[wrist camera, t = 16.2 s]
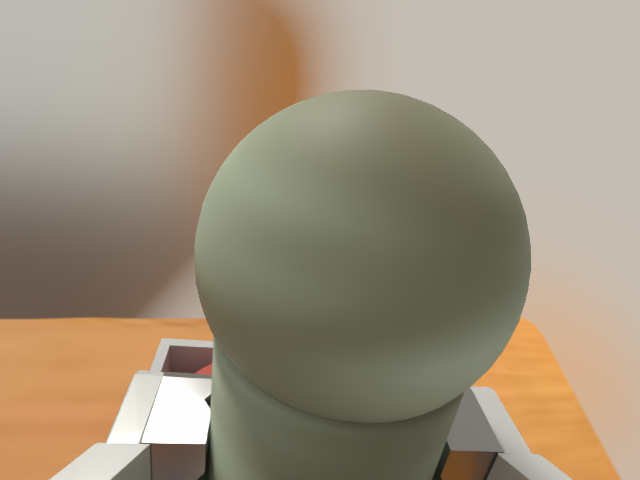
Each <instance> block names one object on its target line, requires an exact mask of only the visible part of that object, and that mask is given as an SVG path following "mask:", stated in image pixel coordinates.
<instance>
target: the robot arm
mask: <svg viewBox="0 0 640 480" xmlns="http://www.w3.org/2000/svg"><path fill="white" fill-rule="evenodd" d="M211 384H212V375H207V374H193V373H179V372H156V371H143V370H138V371H137V373H136V374H135V375H134V376H133V378H132V381H131V383H130V385H129V388H128V390H127V393H126V395H125V397H124V400H123V402H122V405H121V407H120V409H119V412H118V414H117V417H116V419H115V421H114V424H113V426H112V429H111V431H110V433H109V436H108V438H107V440H106V443H95V444H94V445H93V446H92V447H90V448H89V449H88V450H87V451H85V452H84V453H83V454H81V455H80V456H79V457H78V458H76V459H75V460H74V461H72V462H71V463H70V464H69V465H67V466H66V467H65V468H63V469H62V470H61V471H60V472H58V473H57V474H56V475H55V476H53V477H52V478H51V479H49V480H208V464H209V462H208V453H209V442H210V407H211ZM432 480H573V479H571V478H570V477H569V476H567V475H566V474H565V473H563V472H562V471H561V470H559V469H558V468H557V467H555V466H554V465H553V464H552V463H550V462H549V461H548V460H546V459H545V458H544V457H542V456H541V455H540V454H532V453H531V451H530V449H529V448H528V446H527V444H526V443H525V441H524V439H523V438H522V436H521V434H520V433H519V431H518V429H517V428H516V426H515V424H514V423H513V421H512V419H511V418H510V416H509V414H508V413H507V411H506V409H505V408H504V406H503V404H502V403H501V401H500V399H499V398H498V396H497V394H496V393H495V391H494V390H493V389H491V388H490V387H473V386H471V387H470V388H469V389H468V390H466V391H465V392H464V395H463V397H462V400H461V403H460V405H459V408H458V411H457V414H456V416H455V419H454V422H453V424H452V427H451V430H450V432H449V435H448V438H447V440H446V443H445V446H444V449H443V451H442V454H441V457H440V459H439V462H438V465H437V467H436V470H435V473H434V475H433V478H432Z"/></svg>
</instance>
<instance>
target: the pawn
mask: <svg viewBox="0 0 640 480" xmlns="http://www.w3.org/2000/svg"><path fill="white" fill-rule="evenodd" d="M194 256H195V271H196V272H195V273H196V285H197V289H198V293H199V298H200V302H201V305H202V308H203V311H204V315H205V317H206V319H207V322H208V324H209V327H210V329H211V331H212V333H213V335H214V339H213V362H212V384H211V407H210V442H209V453H208V462H209V464H208V480H432V478H433V475H434V473H435V470H436V467H437V465H438V462H439V459H440V457H441V454H442V451H443V449H444V446H445V443H446V440H447V438H448V435H449V432H450V430H451V427H452V424H453V422H454V419H455V416H456V414H457V411H458V408H459V405H460V403H461V400H462V397H463V395H464V392H465V391H466V390H468V389H469V388H470V387H471V386H472V385H473V384H474V383H475V382H476V381H477V380H478V379H479V378H480V377H481V376H482V375H483V374H485V373H486V372H487V371H488V370H489V369H490V368H491V366H492V365H493V364H494V362H495V361H496V360H497V358H498V357H499V356H500V354H501V353H502V352H503V350H504V348H505V347H506V345H507V343H508V342H509V340H510V338H511V336H512V334H513V332H514V330H515V328H516V326H517V324H518V322H519V319H520V316H521V313H522V310H523V307H524V303H525V300H526V296H527V292H528V286H529V278H530V271H531V246H530V238H529V232H528V227H527V220H526V215H525V212H524V209H523V206H522V203H521V200H520V198H519V195H518V192H517V190H516V189H515V187H514V185H513V183H512V181H511V179H510V177H509V175H508V173H507V171H506V170H505V168H504V166H503V165H502V164H501V162H500V161H499V159H498V158H497V157H496V155H495V154H494V153H493V151H492V150H491V149H490V148H489V147H488V146H487V145H486V144H485V143H484V142H483V141H482V140H481V139H480V138H479V137H478V136H477V135H476V134H475V133H474V132H473V131H472V130H471V129H469V128H468V127H467V126H465V125H464V124H463V123H462V122H460V121H459V120H458V119H456V118H455V117H453V116H452V115H450V114H448V113H446V112H444V111H442V110H441V109H439V108H437V107H435V106H433V105H431V104H428V103H426V102H423V101H420V100H417V99H415V98H412V97H409V96H406V95H402V94H397V93H392V92H386V91H378V90H347V91H340V92H334V93H329V94H323V95H319V96H316V97H313V98H310V99H307V100H304V101H301V102H298V103H296V104H294V105H292V106H290V107H288V108H286V109H284V110H282V111H280V112H278V113H276V114H275V115H273V116H272V117H270V118H269V119H267V120H266V121H264V122H263V123H262V124H260V125H259V126H257V127H256V128H255V129H254V130H253V131H252V132H250V133H249V134H248V135H247V136H246V137H245V138H244V139H243V140H242V141H241V142H240V143H239V144H238V145H237V146H236V148H235V149H234V150H233V151H232V152H231V154H230V155H229V156H228V158H227V159H226V160H225V162H224V163H223V165H222V166H221V168H220V170H219V171H218V173H217V175H216V176H215V178H214V180H213V181H212V183H211V186H210V188H209V190H208V193H207V195H206V197H205V200H204V202H203V206H202V210H201V214H200V218H199V222H198V226H197V230H196V239H195V249H194Z"/></svg>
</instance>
